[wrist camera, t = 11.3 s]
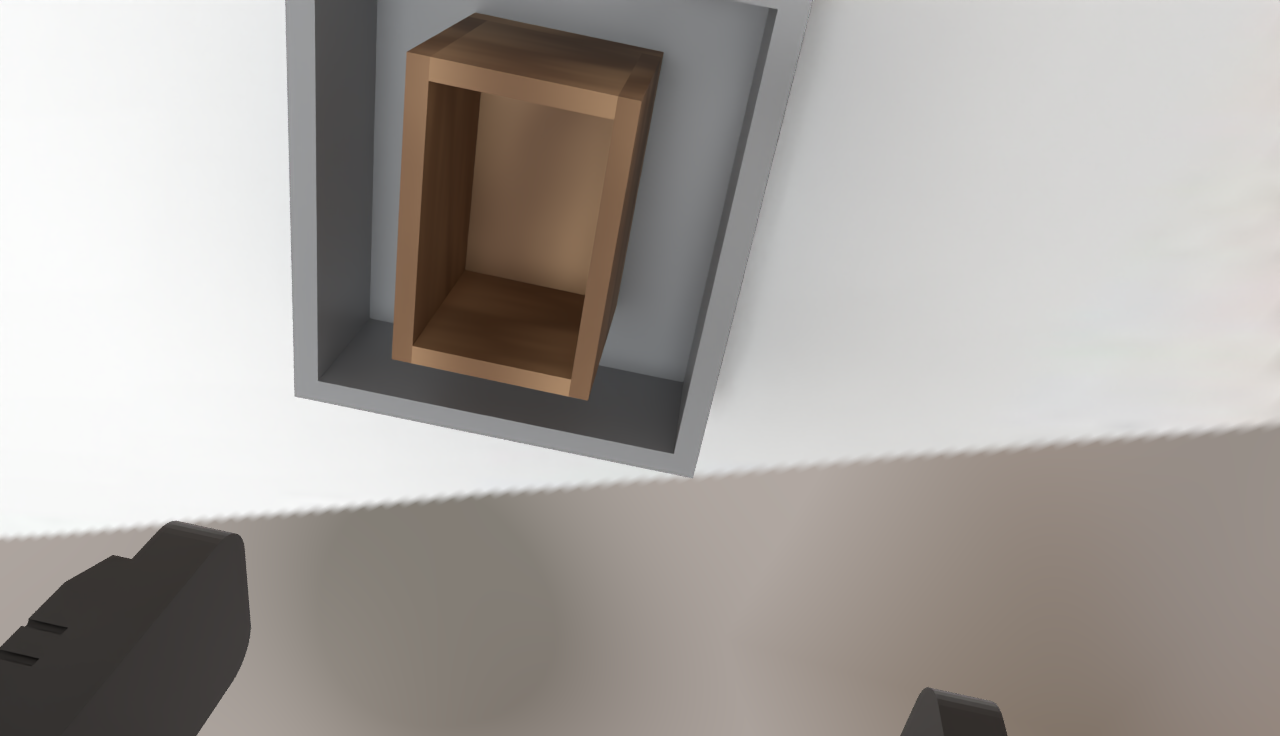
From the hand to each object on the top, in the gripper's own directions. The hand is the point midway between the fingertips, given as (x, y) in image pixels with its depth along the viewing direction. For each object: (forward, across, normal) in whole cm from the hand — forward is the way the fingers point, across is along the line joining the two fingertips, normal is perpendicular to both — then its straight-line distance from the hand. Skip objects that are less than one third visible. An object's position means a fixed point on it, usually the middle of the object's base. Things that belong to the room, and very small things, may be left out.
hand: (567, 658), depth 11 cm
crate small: (+22, +5, +2) cm, 22 cm away
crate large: (+23, +5, +2) cm, 23 cm away
